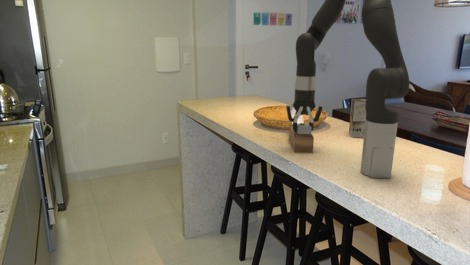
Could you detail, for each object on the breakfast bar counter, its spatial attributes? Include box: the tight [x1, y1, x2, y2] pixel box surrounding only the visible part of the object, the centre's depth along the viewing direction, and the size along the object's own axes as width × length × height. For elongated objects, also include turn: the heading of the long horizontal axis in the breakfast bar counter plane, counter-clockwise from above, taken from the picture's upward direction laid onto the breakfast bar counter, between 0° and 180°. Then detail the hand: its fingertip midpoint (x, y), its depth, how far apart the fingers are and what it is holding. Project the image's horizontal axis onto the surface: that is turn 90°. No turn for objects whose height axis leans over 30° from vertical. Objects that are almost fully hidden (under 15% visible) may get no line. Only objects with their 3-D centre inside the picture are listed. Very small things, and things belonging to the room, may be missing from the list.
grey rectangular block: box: [296, 122, 312, 134], centre depth 134 cm, size 9×5×4 cm, turn 178°
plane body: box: [288, 124, 315, 154], centre depth 139 cm, size 18×7×7 cm, turn 178°
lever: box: [291, 107, 305, 125], centre depth 152 cm, size 1×5×12 cm
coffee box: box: [348, 98, 366, 139], centre depth 154 cm, size 9×6×16 cm
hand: (302, 131), depth 134 cm, fingers closed on grey rectangular block, 5 cm apart
